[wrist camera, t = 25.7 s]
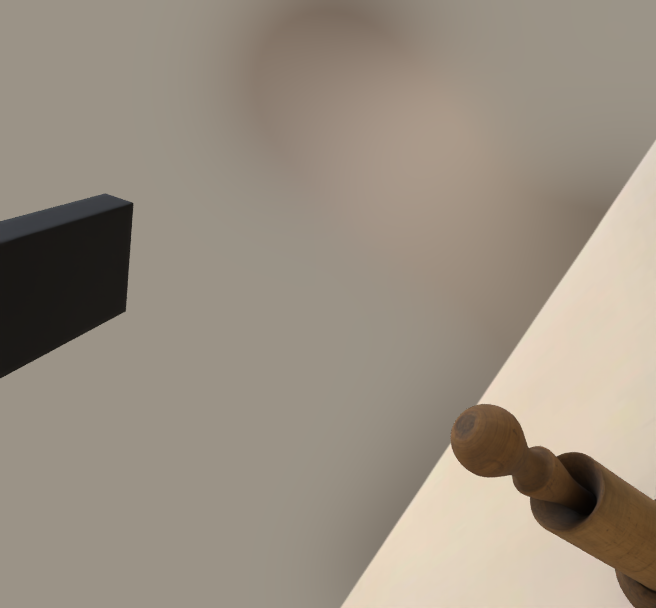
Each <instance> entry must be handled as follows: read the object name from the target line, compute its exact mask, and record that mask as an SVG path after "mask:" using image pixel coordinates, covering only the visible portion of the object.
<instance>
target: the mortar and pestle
mask: <svg viewBox="0 0 656 608" xmlns="http://www.w3.org/2000/svg"><path fill="white" fill-rule="evenodd" d="M451 445H452V449H453V452H454V454H455V456H456V458H457V459H458V461H459V462H460V463H461V464H462V465H463V466H464V467H465V468H466V469H467V470H469V471H470V472H472V473H474V474H476V475H478V476H482V477H501V476H507V475H512V478H513V483H514V485H515V487H516V489H517V490H518V491H519V492H520V493H522V494H524V495H526V496H529V497H530V505H531V510H532V513H533V515H534V517H535V519H536V520H537V522H538V523H539V524H540V525H541V526H542V527H543V528H545V529H546V530H548V531H550V532H551V533H553V534H555V535H557V536H559V537H560V538H562V539H564V540H566V541H567V542H569V543H571V544H573V545H574V546H576V547H578V548H580V549H581V550H583V551H585V552H587V553H588V554H590V555H592V556H594V557H595V558H597V559H599V560H601V561H602V562H604V563H606V564H608V565H609V566H611V567H613V568H615V572H616V576H617V579H618V582H619V585H620V587H621V589H622V591H623V593H624V594H625V596H626V597H627V599H628V600H629V601H630V602H631V604H632V605H633V606H634V607H635V608H656V500H652V499H651V498H649V497H648V496H646V495H645V494H643V493H642V492H640V491H639V490H638V489H636V488H635V487H633V486H632V485H630V484H629V483H627V482H626V481H624V480H623V479H621V478H620V477H618V476H617V475H615V474H614V473H613V472H611V471H610V470H608V469H607V468H605V467H604V466H603V465H601V464H600V463H598V462H597V461H595V460H594V459H593V458H591V457H589V456H588V455H585V454H583V453H578V452H569V453H564V454H561V455H559V456H557V457H556V456H555V455H554V454H553V453H552V452H551V451H550V450H548V449H547V448H545V447H541V446H535V447H531V448H528V446H527V443H526V439H525V436H524V433H523V430H522V428H521V426H520V424H519V422H518V421H517V419H516V418H515V417H514V416H513V415H512V414H511V413H510V412H508V411H507V410H505V409H503V408H501V407H498V406H495V405H490V404H481V405H476V406H473V407H471V408H468V409H467V410H465V411H464V412H463V413H462V414H461V415H460V416H459V417H458V418H457V420H456V421H455V423H454V425H453V428H452V432H451Z"/></svg>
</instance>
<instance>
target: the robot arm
mask: <svg viewBox="0 0 656 608" xmlns="http://www.w3.org/2000/svg"><path fill="white" fill-rule="evenodd" d="M132 215H133V203H132V202H129V201H126V200H123V199H120V198H117V197H114V196H111V195H108V194H102V195H98V196H94V197H90V198H87V199H83V200H79V201H75V202H72V203H68V204H64V205H60V206H57V207H53V208H49V209H45V210H42V211H38V212H34V213H31V214H27V215H23V216H19V217H15V218H12V219H8V220H4V221H0V378H2V377H4V376H6V375H8V374H9V373H11V372H13V371H15V370H17V369H19V368H21V367H22V366H24V365H26V364H28V363H30V362H32V361H34V360H36V359H37V358H39V357H41V356H43V355H45V354H47V353H49V352H50V351H52V350H54V349H56V348H58V347H60V346H61V345H63V344H65V343H67V342H69V341H71V340H73V339H75V338H76V337H78V336H80V335H82V334H84V333H86V332H88V331H89V330H92V329H93V328H95V327H97V326H99V325H101V324H102V323H104V322H106V321H108V320H110V319H112V318H114V317H116V316H117V315H119V314H121V313H123V312H125V311H126V299H127V286H128V270H129V257H130V243H131V229H132Z"/></svg>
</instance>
